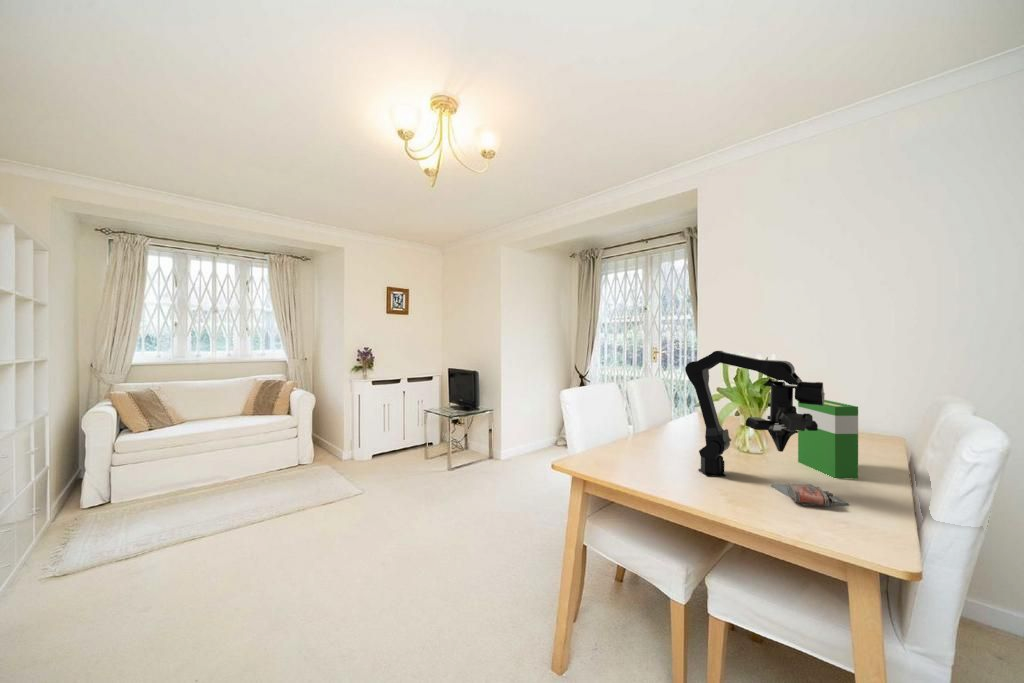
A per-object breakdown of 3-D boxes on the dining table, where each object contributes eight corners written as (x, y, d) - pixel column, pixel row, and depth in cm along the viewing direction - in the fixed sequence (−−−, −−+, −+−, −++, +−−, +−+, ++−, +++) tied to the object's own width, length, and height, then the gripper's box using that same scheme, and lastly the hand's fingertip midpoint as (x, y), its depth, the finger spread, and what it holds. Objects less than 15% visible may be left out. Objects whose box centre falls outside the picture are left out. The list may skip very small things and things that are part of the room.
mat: (803, 505, 109) (803, 503, 109) (770, 486, 123) (770, 484, 123) (848, 505, 109) (848, 503, 109) (810, 486, 123) (810, 484, 123)
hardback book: (798, 461, 147) (798, 398, 147) (818, 462, 146) (818, 398, 146) (835, 478, 129) (835, 406, 129) (858, 478, 129) (858, 406, 129)
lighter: (786, 481, 116) (827, 485, 112) (786, 492, 116) (827, 496, 113) (796, 493, 108) (840, 498, 105) (795, 504, 109) (839, 510, 105)
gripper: (767, 406, 113) (766, 459, 113) (832, 406, 112) (831, 460, 113) (745, 399, 124) (744, 448, 124) (804, 400, 124) (803, 448, 124)
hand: (780, 451), depth 121 cm, fingers closed
